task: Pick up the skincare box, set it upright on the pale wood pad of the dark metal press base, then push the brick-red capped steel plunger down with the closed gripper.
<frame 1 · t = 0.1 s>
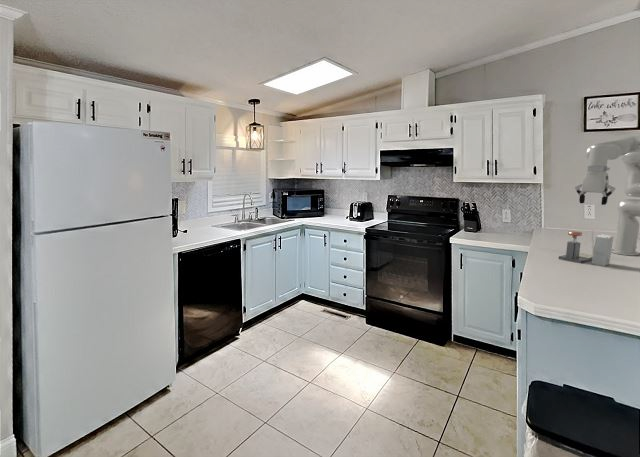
hand: (592, 203, 183), 31 cm above the countertop, tool pointing down, fingers open, 9 cm apart
plunger: (574, 240, 192), point 11 cm above the countertop, slide at 0.0 cm
skincare box: (600, 264, 186), on the countertop
press base: (577, 259, 196), on the countertop
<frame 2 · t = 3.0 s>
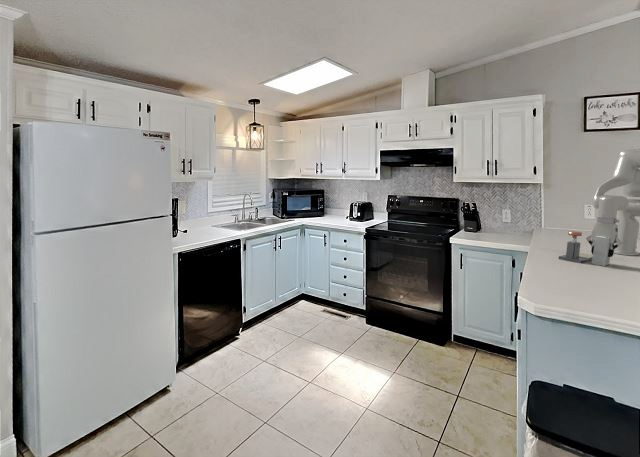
hand: (601, 255, 186), 5 cm above the countertop, tool pointing down, fingers closed on skincare box, 6 cm apart
skincare box: (600, 264, 186), on the countertop, touching gripper
everything else where it was.
when the fingers open (7 cm above the countertop, at t = 8.9 s): skincare box stays where it is, resting on press base.
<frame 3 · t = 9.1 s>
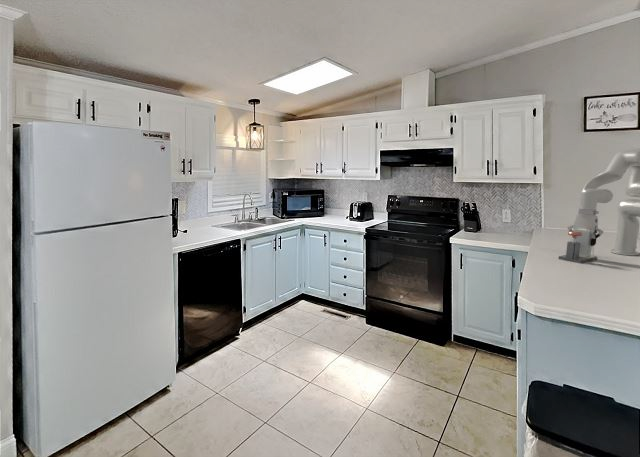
hand: (583, 244, 197), 8 cm above the countertop, tool pointing down, fingers open, 8 cm apart
skincare box: (582, 255, 198), point 2 cm above the countertop, touching press base
everything else where it was.
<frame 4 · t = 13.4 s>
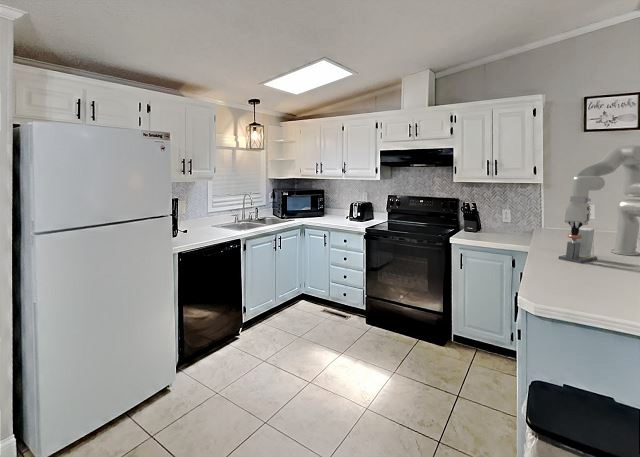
hand: (574, 234, 191), 14 cm above the countertop, tool pointing down, fingers closed
plunger: (573, 243, 192), point 9 cm above the countertop, slide at 1.4 cm, touching gripper
everything else where it was.
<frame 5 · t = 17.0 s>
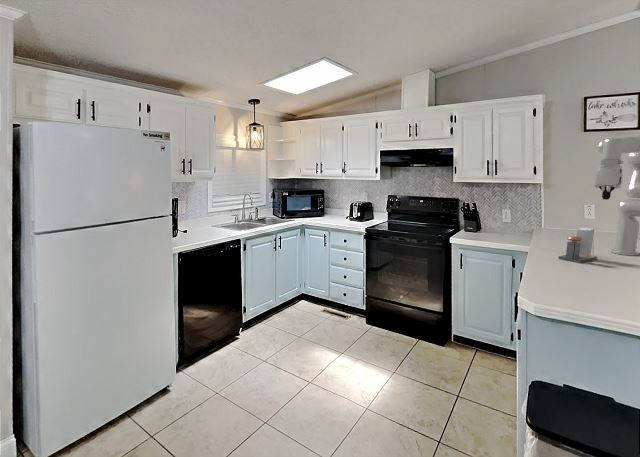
hand: (605, 199, 186), 33 cm above the countertop, tool pointing down, fingers closed
plunger: (573, 246, 192), point 8 cm above the countertop, slide at 2.7 cm
everything else where it was.
at the end: skincare box 0.2 cm from the target spot, point 1.6 cm above the countertop; skincare box tilted 0°; plunger slide at 2.7 cm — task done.
